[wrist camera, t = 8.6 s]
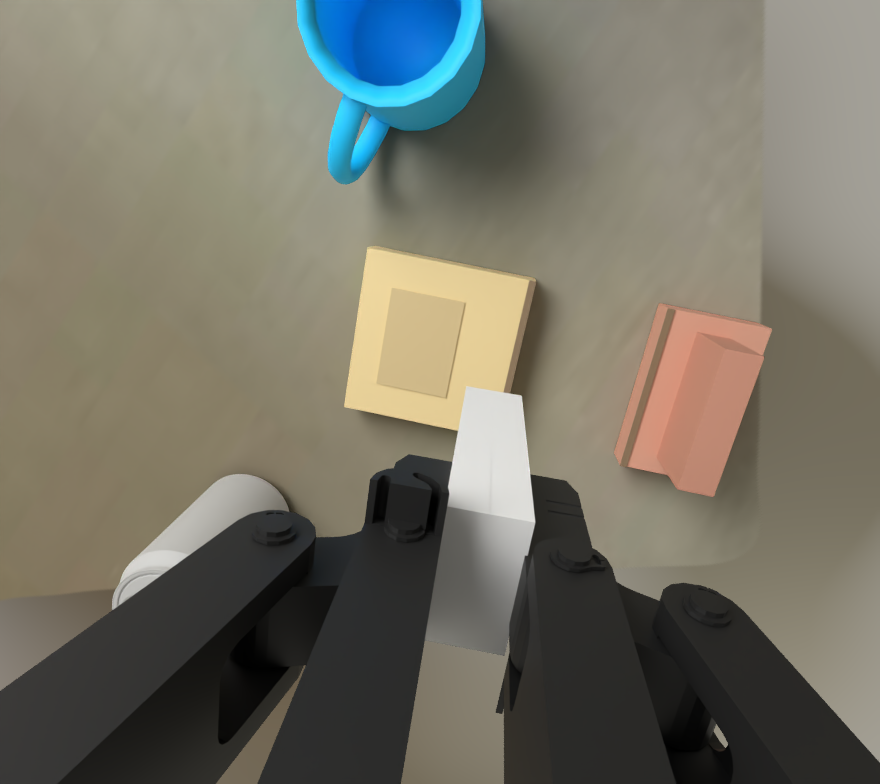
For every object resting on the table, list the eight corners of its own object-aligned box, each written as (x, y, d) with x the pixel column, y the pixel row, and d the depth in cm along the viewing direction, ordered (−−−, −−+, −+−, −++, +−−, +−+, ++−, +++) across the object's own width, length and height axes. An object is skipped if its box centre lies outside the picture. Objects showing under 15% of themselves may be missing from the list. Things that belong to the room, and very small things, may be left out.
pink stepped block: (658, 302, 36) (691, 321, 30) (757, 323, 36) (811, 345, 30) (614, 452, 39) (635, 497, 33) (705, 471, 39) (743, 520, 33)
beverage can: (193, 483, 43) (81, 582, 31) (272, 458, 42) (186, 551, 30) (230, 558, 44) (137, 678, 33) (308, 536, 43) (239, 652, 32)
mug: (378, -61, 32) (340, -148, 24) (512, 13, 33) (516, -50, 25) (294, 154, 36) (238, 137, 28) (416, 217, 36) (394, 219, 28)
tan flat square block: (374, 245, 37) (367, 247, 35) (534, 277, 36) (536, 281, 34) (351, 397, 40) (343, 407, 38) (499, 428, 39) (498, 440, 37)
